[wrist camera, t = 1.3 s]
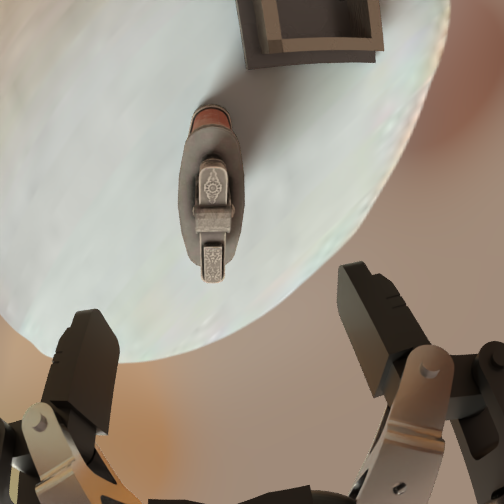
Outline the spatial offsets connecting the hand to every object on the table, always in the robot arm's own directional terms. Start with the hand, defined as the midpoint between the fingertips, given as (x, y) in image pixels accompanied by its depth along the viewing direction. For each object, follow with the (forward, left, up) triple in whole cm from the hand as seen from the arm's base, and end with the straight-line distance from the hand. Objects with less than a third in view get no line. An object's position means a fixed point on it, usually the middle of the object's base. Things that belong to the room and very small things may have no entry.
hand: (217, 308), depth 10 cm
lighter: (0, 0, -15) cm, 15 cm away
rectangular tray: (-13, +8, -15) cm, 21 cm away
